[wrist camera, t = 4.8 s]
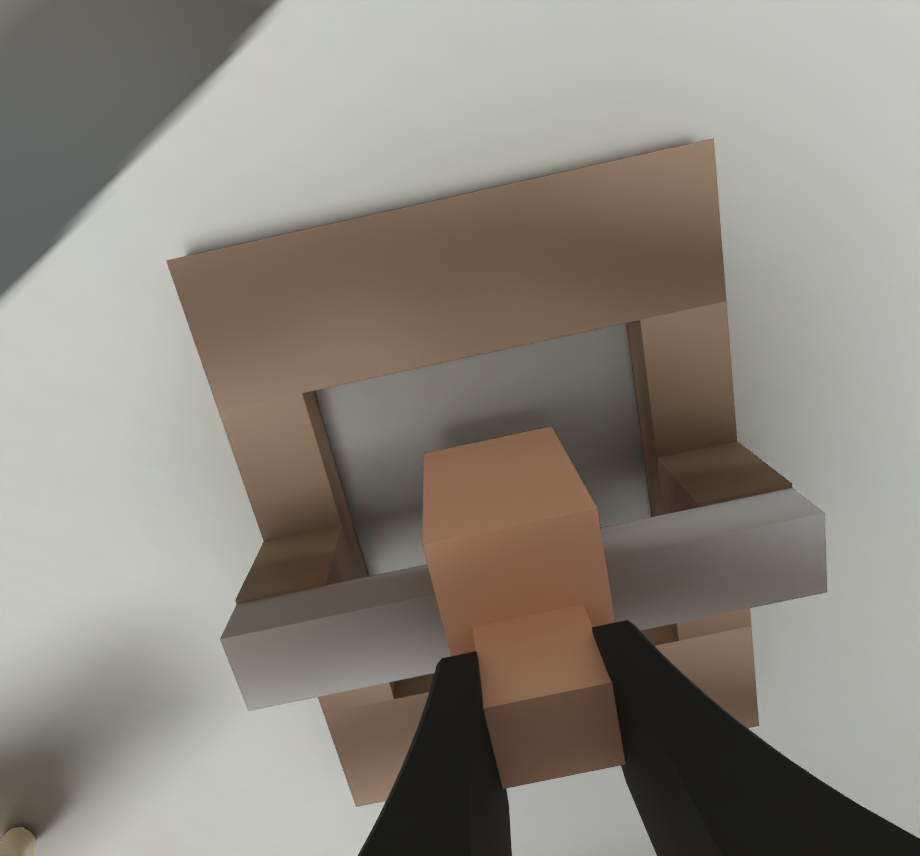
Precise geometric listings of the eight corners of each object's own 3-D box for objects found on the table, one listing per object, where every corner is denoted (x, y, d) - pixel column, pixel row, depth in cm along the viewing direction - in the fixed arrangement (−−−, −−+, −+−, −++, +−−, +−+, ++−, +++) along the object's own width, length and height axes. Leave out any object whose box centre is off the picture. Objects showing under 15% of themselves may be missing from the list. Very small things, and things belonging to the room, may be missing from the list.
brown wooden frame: (740, 696, 20) (835, 846, 16) (360, 773, 21) (340, 943, 16) (692, 143, 15) (811, 115, 10) (185, 256, 15) (78, 279, 11)
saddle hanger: (584, 615, 17) (671, 841, 11) (469, 638, 17) (492, 876, 11) (551, 426, 15) (632, 571, 9) (423, 453, 15) (421, 615, 9)
